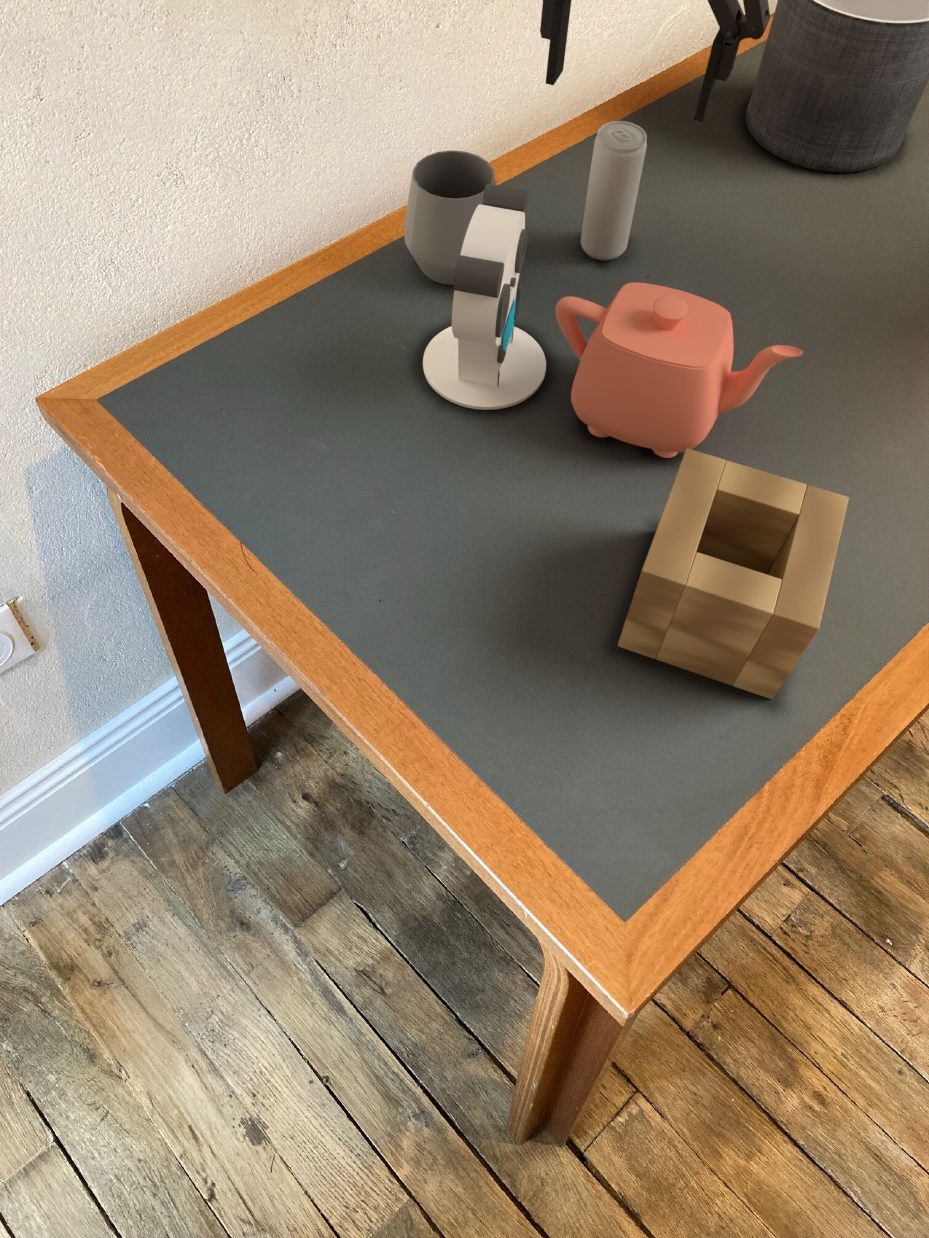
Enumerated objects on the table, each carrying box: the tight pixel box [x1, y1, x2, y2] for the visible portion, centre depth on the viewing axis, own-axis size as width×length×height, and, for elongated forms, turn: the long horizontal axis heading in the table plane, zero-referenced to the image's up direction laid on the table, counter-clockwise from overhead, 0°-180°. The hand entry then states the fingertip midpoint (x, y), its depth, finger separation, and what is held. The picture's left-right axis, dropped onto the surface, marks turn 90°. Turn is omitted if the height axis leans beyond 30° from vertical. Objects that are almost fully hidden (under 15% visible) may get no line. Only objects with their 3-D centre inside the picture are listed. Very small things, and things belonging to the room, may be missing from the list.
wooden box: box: [617, 448, 850, 700], centre depth 69 cm, size 12×12×10 cm
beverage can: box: [580, 120, 648, 261], centre depth 91 cm, size 5×5×12 cm
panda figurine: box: [422, 183, 547, 411], centre depth 80 cm, size 12×11×15 cm
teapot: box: [555, 282, 804, 459], centre depth 79 cm, size 20×12×12 cm, turn 67°
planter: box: [745, 0, 929, 173], centre depth 102 cm, size 18×18×16 cm
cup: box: [403, 150, 497, 286], centre depth 90 cm, size 10×9×10 cm
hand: (626, 95), depth 83 cm, fingers open, 13 cm apart
